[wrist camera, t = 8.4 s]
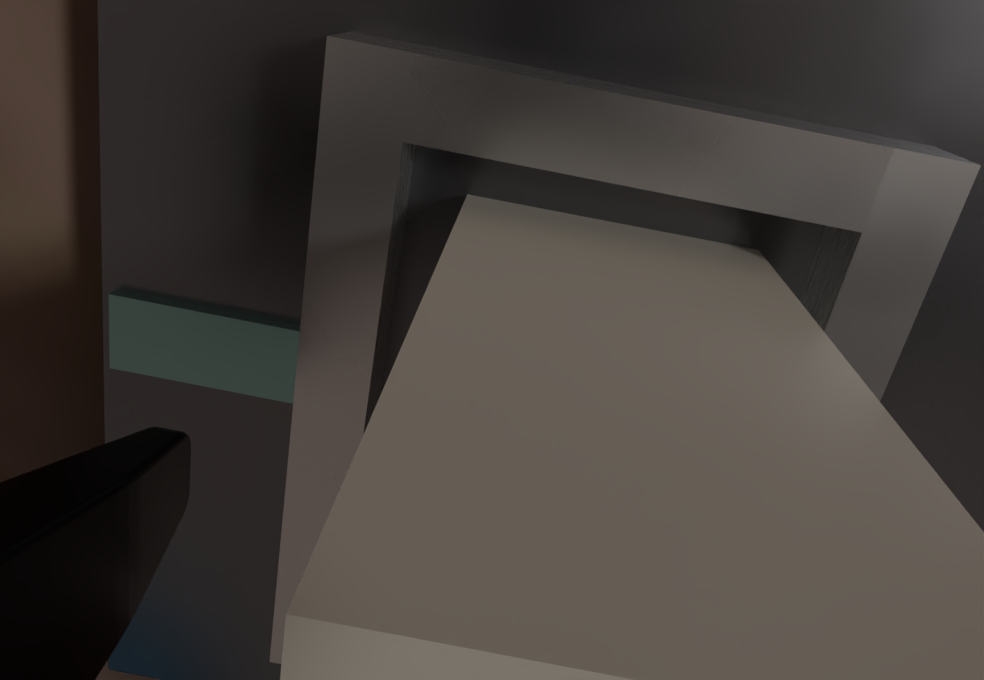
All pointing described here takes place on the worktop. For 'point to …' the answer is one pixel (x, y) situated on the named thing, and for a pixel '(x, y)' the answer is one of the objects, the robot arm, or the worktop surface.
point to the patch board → (506, 177)
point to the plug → (631, 483)
